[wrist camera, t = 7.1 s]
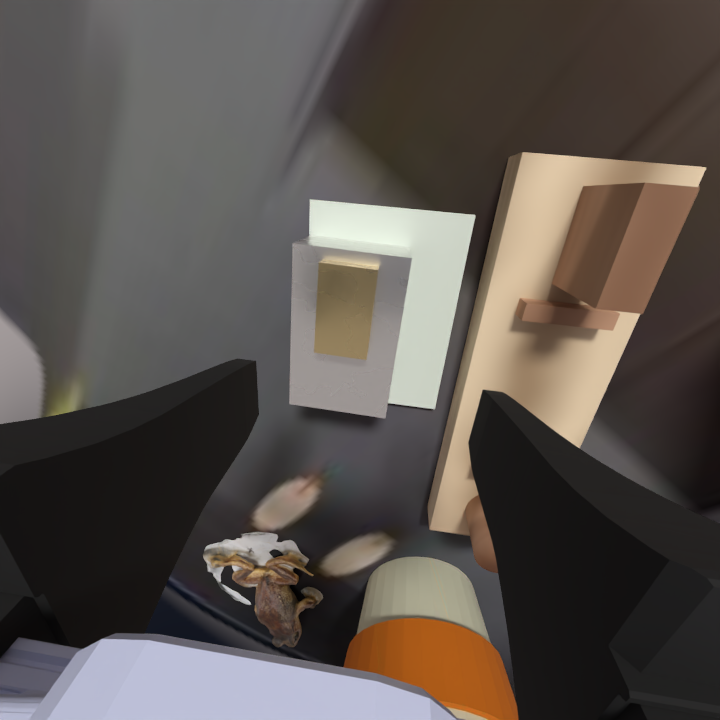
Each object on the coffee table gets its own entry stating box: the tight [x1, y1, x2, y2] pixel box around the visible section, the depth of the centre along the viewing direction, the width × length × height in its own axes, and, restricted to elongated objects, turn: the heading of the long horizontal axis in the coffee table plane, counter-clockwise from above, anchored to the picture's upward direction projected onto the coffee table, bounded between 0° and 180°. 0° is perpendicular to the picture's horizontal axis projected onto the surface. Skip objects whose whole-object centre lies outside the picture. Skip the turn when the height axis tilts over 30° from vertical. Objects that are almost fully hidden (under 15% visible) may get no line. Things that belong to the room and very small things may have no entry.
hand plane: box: [428, 152, 706, 573], centre depth 18 cm, size 7×22×6 cm, turn 175°
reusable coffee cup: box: [344, 557, 519, 720], centre depth 23 cm, size 13×13×15 cm
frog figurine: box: [203, 532, 323, 647], centre depth 29 cm, size 12×12×4 cm
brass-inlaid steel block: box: [289, 235, 412, 418], centre depth 17 cm, size 5×8×4 cm, turn 174°
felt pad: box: [309, 200, 475, 409], centre depth 19 cm, size 8×11×1 cm
